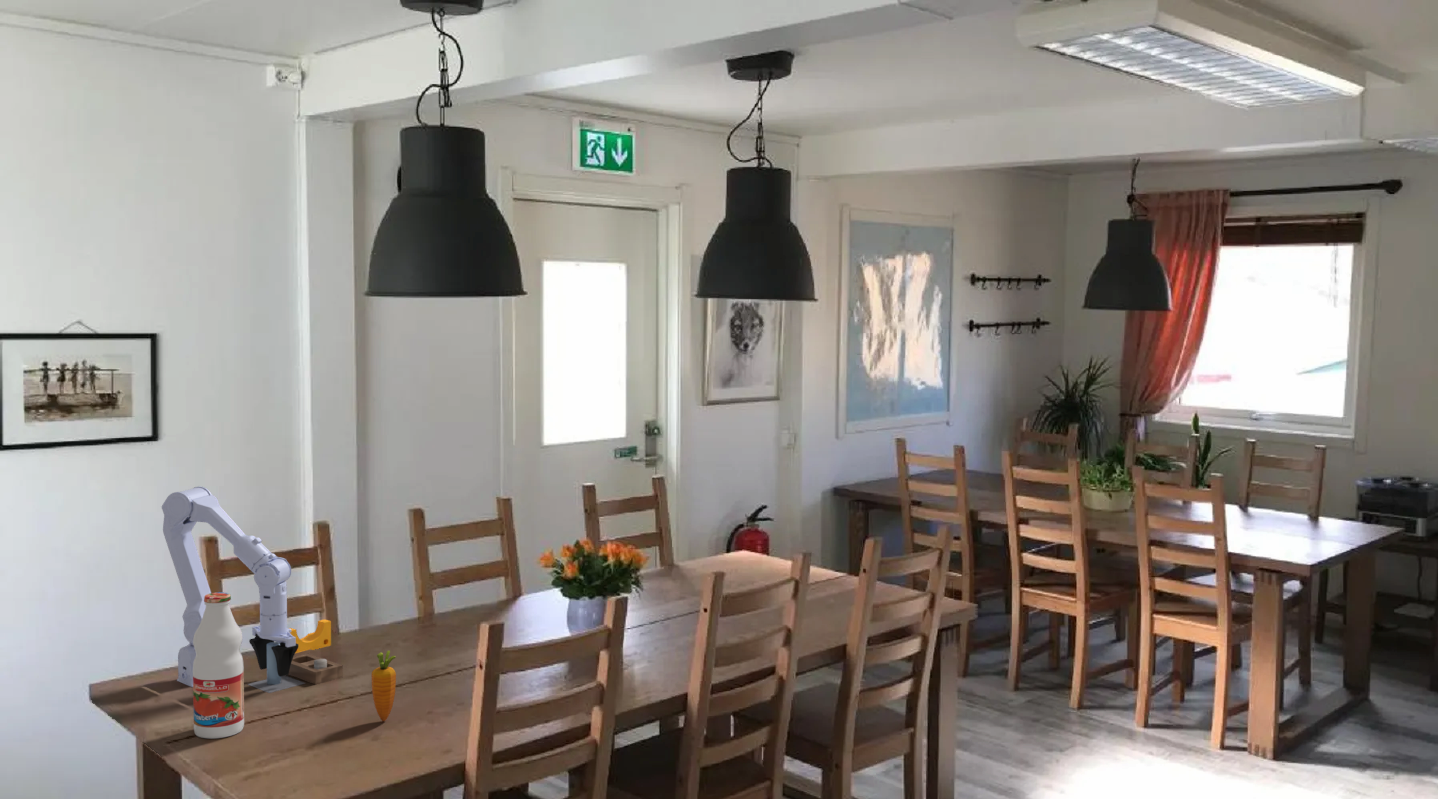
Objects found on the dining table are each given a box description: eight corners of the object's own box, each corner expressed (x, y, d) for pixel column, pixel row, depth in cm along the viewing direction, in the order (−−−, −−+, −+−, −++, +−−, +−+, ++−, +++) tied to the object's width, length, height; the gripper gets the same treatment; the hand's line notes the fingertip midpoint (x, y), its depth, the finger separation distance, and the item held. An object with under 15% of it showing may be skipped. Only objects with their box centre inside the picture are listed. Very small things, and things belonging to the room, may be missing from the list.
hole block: (315, 686, 266) (315, 667, 265) (281, 673, 274) (281, 654, 274) (342, 678, 271) (342, 660, 271) (308, 666, 280) (308, 648, 279)
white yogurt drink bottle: (252, 724, 241) (251, 590, 239) (229, 740, 232) (228, 601, 230) (209, 721, 242) (207, 588, 240) (184, 738, 233) (182, 599, 230)
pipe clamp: (320, 643, 300) (320, 618, 299) (331, 646, 297) (330, 621, 297) (279, 653, 290) (278, 628, 289) (289, 657, 287) (289, 631, 287)
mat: (269, 694, 259) (269, 692, 259) (247, 685, 265) (247, 684, 265) (305, 684, 266) (305, 683, 266) (283, 676, 272) (283, 674, 272)
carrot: (386, 715, 248) (386, 646, 247) (401, 721, 245) (401, 650, 243) (366, 721, 244) (366, 651, 243) (380, 727, 241) (380, 655, 240)
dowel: (271, 685, 264) (271, 646, 263) (264, 682, 266) (264, 644, 265) (283, 682, 266) (283, 643, 266) (276, 679, 268) (276, 641, 267)
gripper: (307, 615, 263) (308, 674, 265) (271, 604, 272) (272, 661, 273) (278, 621, 258) (279, 681, 259) (243, 609, 267) (244, 668, 268)
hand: (274, 671), depth 266 cm, fingers open, 7 cm apart
